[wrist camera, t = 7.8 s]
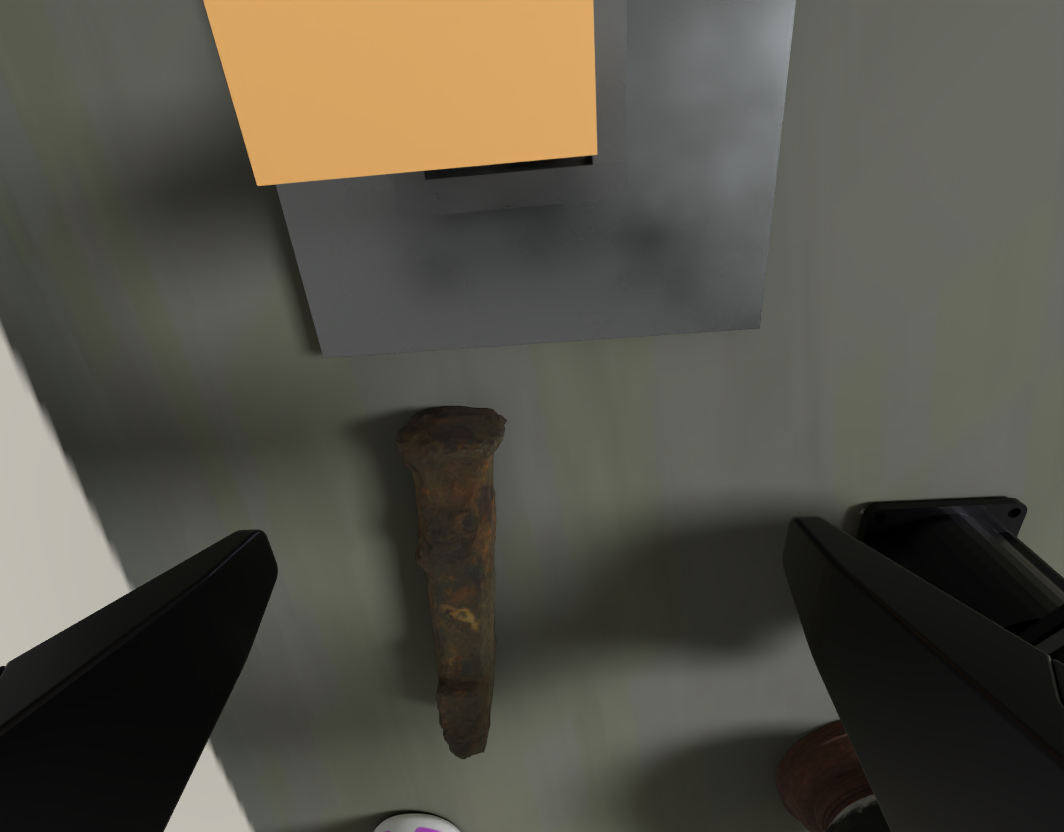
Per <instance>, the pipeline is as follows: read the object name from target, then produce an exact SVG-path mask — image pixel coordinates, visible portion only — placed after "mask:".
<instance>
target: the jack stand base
mask: <svg viewBox="0 0 1064 832" xmlns="http://www.w3.org/2000/svg"><path fill="white" fill-rule="evenodd" d="M795 4H796V0H593V8H594V45H595V83H596V120H597V155H589V156H578V157H568V158H557V159H546V160H535V161H524V162H513V163H502V164H492V165H481V166H470V167H459V168H448V169H437V170H426V171H415V172H405V173H394V174H383V175H372V176H361V177H350V178H339V179H329V180H318V181H307V182H296V183H285V184H276V188H277V192H278V195H279V199H280V202H281V206H282V210H283V213H284V217H285V221H286V224H287V228H288V231H289V235H290V239H291V242H292V246H293V249H294V253H295V257H296V260H297V264H298V268H299V271H300V275H301V278H302V282H303V286H304V289H305V293H306V297H307V300H308V304H309V307H310V311H311V315H312V318H313V322H314V325H315V329H316V333H317V336H318V340H319V344H320V347H321V351H322V354H323V358H331V357H346V356H361V355H375V354H390V353H405V352H420V351H434V350H449V349H464V348H479V347H493V346H508V345H523V344H538V343H552V342H567V341H582V340H597V339H612V338H626V337H641V336H656V335H671V334H685V333H700V332H715V331H730V330H744V329H759V328H760V321H761V312H762V303H763V294H764V285H765V275H766V266H767V257H768V248H769V239H770V230H771V221H772V212H773V203H774V194H775V185H776V176H777V167H778V158H779V149H780V140H781V131H782V122H783V113H784V104H785V94H786V85H787V76H788V67H789V58H790V49H791V40H792V31H793V22H794V13H795Z"/></svg>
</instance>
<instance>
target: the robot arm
mask: <svg viewBox="0 0 1064 832" xmlns="http://www.w3.org/2000/svg"><path fill="white" fill-rule="evenodd" d="M1026 513H1027V507H1026V506H1025V505H1024V504H1023V503H1021V502H1020V501H1019V500H1017V499H1016V498H997V499H974V500H952V501H930V502H907V503H885V504H874V505H871V506H869V507H868V508H867V509H866V510H865V511H864V513H863V518H862V522H861V526H860V530H859V534H858V538H857V539H855V538H854V537H852V536H850V535H849V534H847V533H845V532H844V531H842V530H840V529H839V528H837V527H836V526H834V525H832V524H831V523H829V522H827V521H826V520H824V519H822V518H820V517H818V516H795V517H793V518H792V519H791V520H790V521H789V524H788V529H787V534H786V540H785V545H784V551H783V567H784V571H785V574H786V577H787V581H788V584H789V587H790V590H791V593H792V596H793V599H794V602H795V605H796V608H797V612H798V615H799V618H800V621H801V624H802V627H803V630H804V633H805V636H806V639H807V642H808V645H809V648H810V651H811V654H812V656H813V659H814V661H815V664H816V666H817V668H818V671H819V673H820V675H821V677H822V680H823V682H824V684H825V686H826V688H827V691H828V693H829V695H830V697H831V700H832V702H833V704H834V706H835V708H836V711H837V713H838V715H839V717H840V720H841V722H842V724H843V726H844V728H845V731H846V733H847V735H848V737H849V740H850V742H851V744H852V746H853V748H854V751H855V753H856V755H857V757H858V759H859V762H860V764H861V766H862V768H863V771H864V773H865V775H866V777H867V779H868V782H869V784H870V786H871V788H872V791H873V793H874V795H875V797H876V799H877V802H878V804H879V806H880V808H881V811H882V813H883V815H884V817H885V819H886V822H887V824H888V826H889V828H890V830H891V832H1064V578H1063V577H1062V576H1061V575H1060V574H1058V573H1057V572H1056V571H1055V570H1054V569H1053V568H1052V567H1050V566H1049V565H1048V564H1047V563H1046V562H1045V561H1043V560H1042V559H1041V558H1040V557H1039V556H1038V555H1037V554H1035V553H1034V552H1033V551H1032V550H1031V549H1030V548H1028V547H1027V546H1026V545H1025V544H1024V543H1023V542H1022V541H1020V540H1019V539H1018V538H1017V535H1018V533H1019V530H1020V528H1021V525H1022V523H1023V520H1024V518H1025V516H1026ZM879 514H880V516H878V517H875V516H877V515H879ZM277 574H278V568H277V563H276V560H275V557H274V555H273V552H272V549H271V546H270V543H269V541H268V538H267V536H266V534H265V533H264V532H263V531H261V530H239V531H236V532H234V533H232V534H231V535H229V536H227V537H225V538H224V539H222V540H220V541H218V542H217V543H215V544H213V545H211V546H210V547H208V548H206V549H204V550H203V551H201V552H199V553H198V554H196V555H194V556H192V557H191V558H189V559H187V560H185V561H184V562H182V563H180V564H178V565H177V566H175V567H173V568H171V569H170V570H168V571H166V572H164V573H163V574H161V575H159V576H157V577H156V578H154V579H152V580H151V581H149V582H147V583H145V584H144V585H142V586H140V587H138V588H137V589H135V590H133V591H131V592H130V593H128V594H126V595H124V596H123V597H121V598H119V599H118V600H116V601H114V602H112V603H111V604H109V605H107V606H105V607H104V608H102V609H100V610H98V611H97V612H95V613H93V614H91V615H90V616H88V617H86V618H85V619H83V620H81V621H79V622H78V623H76V624H74V625H72V626H70V627H69V628H67V629H65V630H64V631H62V632H60V633H58V634H57V635H55V636H53V637H52V638H50V639H48V640H46V641H45V642H43V643H41V644H39V645H37V646H36V647H34V648H32V649H31V650H29V651H27V652H25V653H23V654H22V655H20V656H19V657H17V658H15V659H13V660H11V661H10V662H8V663H7V665H6V666H1V667H0V832H164V830H165V828H166V826H167V824H168V822H169V819H170V817H171V815H172V813H173V811H174V809H175V807H176V805H177V803H178V801H179V799H180V797H181V795H182V793H183V790H184V788H185V786H186V784H187V782H188V780H189V778H190V776H191V774H192V772H193V770H194V768H195V766H196V764H197V762H198V760H199V757H200V755H201V753H202V751H203V749H204V747H205V745H206V743H207V741H208V739H209V737H210V735H211V733H212V731H213V729H214V727H215V725H216V723H217V720H218V718H219V716H220V714H221V712H222V710H223V708H224V706H225V704H226V702H227V700H228V698H229V696H230V694H231V692H232V690H233V687H234V685H235V683H236V681H237V679H238V677H239V675H240V673H241V671H242V669H243V666H244V664H245V662H246V660H247V657H248V655H249V652H250V650H251V647H252V645H253V642H254V639H255V637H256V634H257V631H258V629H259V626H260V623H261V620H262V618H263V615H264V612H265V609H266V607H267V604H268V601H269V599H270V596H271V593H272V590H273V588H274V585H275V582H276V579H277Z"/></svg>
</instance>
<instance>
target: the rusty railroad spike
mask: <svg viewBox="0 0 1064 832" xmlns="http://www.w3.org/2000/svg"><path fill="white" fill-rule="evenodd" d="M506 421H507V420H506V419H505V418H504V417H503V416H501V415H498V414H497V413H496V412H495V411H494V410H493V409H488V408H470V407H465V406H446V407H439V408H432V409H428V410H425V411H422V412H419V413H417V414H415V415H414V416H412V418H411V419H410V421H409V423H408V424H407V425H405V426H404V427H403V428H402V429H400V431H399V433H398V435H397V437H396V443H395V445H396V447H397V448H398V450H399V452H400V454H401V455H402V457H403V460H404V463H405V465H406V467H407V468H408V469H409V470H411V473H412V475H413V478H414V481H415V488H416V497H417V508H418V512H419V525H418V534H417V535H418V537H419V544H418V547H417V550H416V552H415V557H416V564H417V565H419V566H420V567H421V568H423V569H424V571H425V573H426V578H427V587H428V594H429V605H430V613H431V618H432V624H433V634H434V639H435V646H436V654H437V664H438V673H439V683H438V688H437V697H436V699H437V707H438V709H439V723H440V726H441V728H442V729H443V736H444V739H445V741H447V743H448V745H449V749H450V751H451V752H452V753H453V754H454V755H455V756H457V757H459V758H461V759H466V758H467V757H470V756H472V755H475V754H478V753H481V752H484V750H485V747H486V743H487V738H488V732H489V728H490V709H491V704H492V696H493V684H494V666H495V653H496V638H495V633H494V628H495V567H494V544H495V539H496V536H495V531H496V506H495V491H494V487H493V455H494V452H495V451H496V450H497V448H498V447H499V445H500V443H501V441H502V440H503V436H504V431H505V427H504V424H505V423H506Z"/></svg>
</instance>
